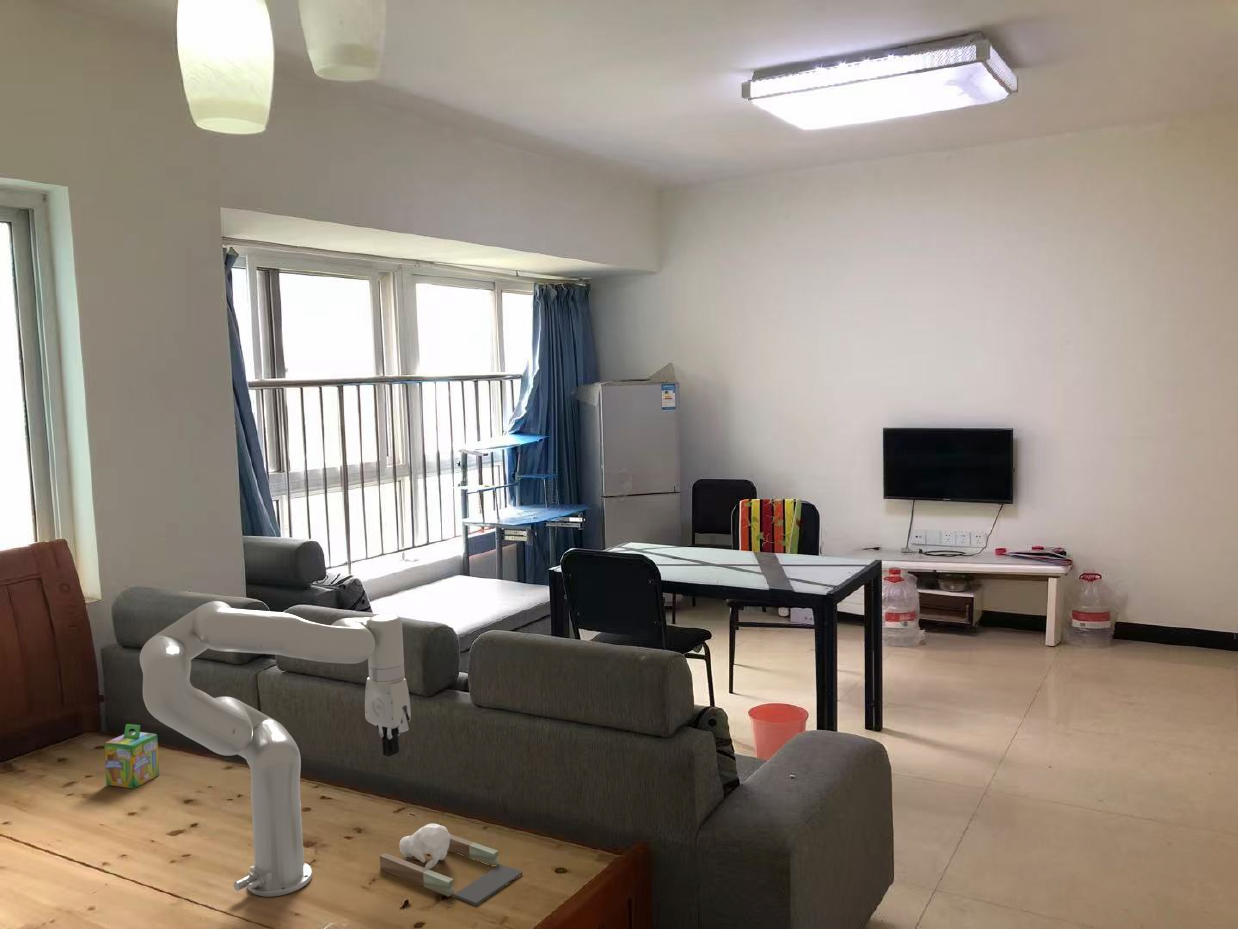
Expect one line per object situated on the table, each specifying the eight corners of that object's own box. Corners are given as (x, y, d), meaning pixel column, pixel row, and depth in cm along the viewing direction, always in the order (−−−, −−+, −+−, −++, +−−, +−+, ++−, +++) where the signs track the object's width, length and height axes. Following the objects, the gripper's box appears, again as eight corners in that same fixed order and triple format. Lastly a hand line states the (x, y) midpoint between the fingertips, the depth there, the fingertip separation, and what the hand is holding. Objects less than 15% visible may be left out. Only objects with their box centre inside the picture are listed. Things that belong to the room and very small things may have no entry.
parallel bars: (448, 896, 190) (448, 882, 190) (380, 869, 201) (379, 856, 201) (498, 864, 202) (498, 851, 202) (431, 840, 214) (431, 827, 213)
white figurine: (433, 833, 199) (388, 827, 204) (438, 873, 199) (393, 866, 204) (451, 820, 204) (407, 815, 210) (456, 859, 205) (412, 852, 210)
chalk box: (105, 786, 247) (101, 730, 246) (133, 772, 256) (129, 718, 254) (134, 790, 244) (130, 733, 243) (161, 775, 253) (157, 721, 252)
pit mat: (476, 906, 187) (476, 903, 187) (454, 897, 190) (453, 894, 190) (522, 874, 198) (522, 871, 198) (500, 866, 201) (500, 864, 201)
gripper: (350, 671, 207) (354, 753, 209) (397, 682, 199) (401, 767, 201) (376, 662, 214) (380, 741, 215) (423, 672, 205) (427, 755, 207)
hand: (391, 753), depth 208 cm, fingers closed
